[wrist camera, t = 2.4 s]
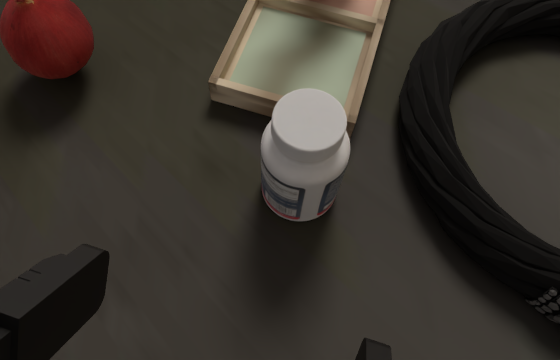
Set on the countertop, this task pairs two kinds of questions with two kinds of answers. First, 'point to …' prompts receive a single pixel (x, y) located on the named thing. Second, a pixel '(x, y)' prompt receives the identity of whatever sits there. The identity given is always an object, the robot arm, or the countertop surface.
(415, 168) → the cable lock
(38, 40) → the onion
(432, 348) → the countertop surface
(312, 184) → the pill bottle
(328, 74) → the divided tray
